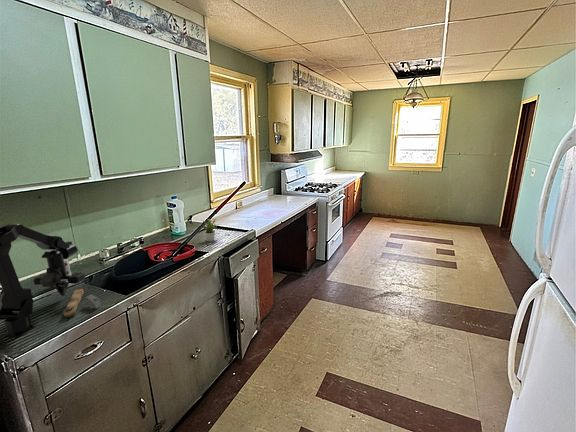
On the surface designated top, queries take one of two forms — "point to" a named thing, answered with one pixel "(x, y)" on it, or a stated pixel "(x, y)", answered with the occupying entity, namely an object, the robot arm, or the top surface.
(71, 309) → the brown long rod
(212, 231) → the house plant
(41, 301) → the top surface
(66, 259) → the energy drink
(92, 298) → the keeper
